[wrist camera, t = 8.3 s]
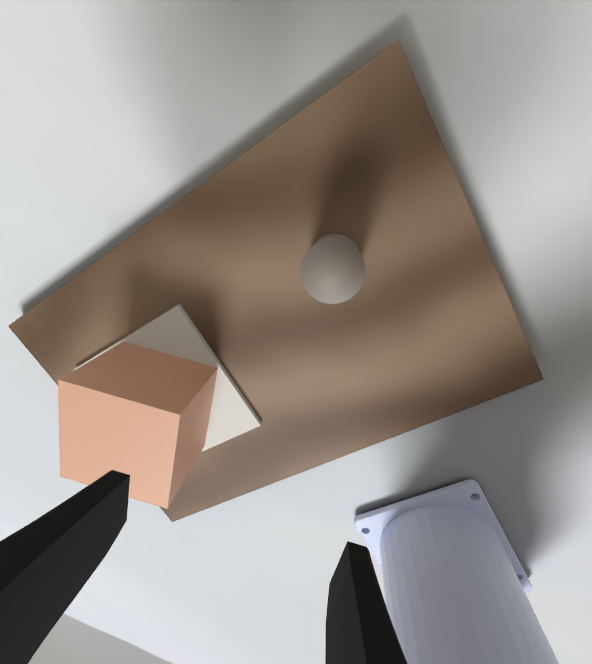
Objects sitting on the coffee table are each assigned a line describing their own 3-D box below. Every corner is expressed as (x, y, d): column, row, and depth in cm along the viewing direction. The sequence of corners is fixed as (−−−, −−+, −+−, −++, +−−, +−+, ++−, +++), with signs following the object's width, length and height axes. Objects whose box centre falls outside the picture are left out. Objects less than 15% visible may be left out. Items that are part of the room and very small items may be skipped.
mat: (261, 422, 19) (260, 425, 19) (158, 468, 21) (156, 472, 21) (179, 303, 17) (177, 305, 17) (76, 367, 20) (73, 370, 19)
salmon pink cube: (204, 446, 20) (167, 508, 16) (118, 421, 20) (60, 476, 16) (218, 368, 18) (180, 414, 14) (123, 341, 18) (58, 379, 14)
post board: (532, 370, 17) (594, 420, 13) (179, 509, 24) (143, 573, 20) (394, 51, 14) (417, -21, 9) (23, 320, 20) (-60, 349, 16)
